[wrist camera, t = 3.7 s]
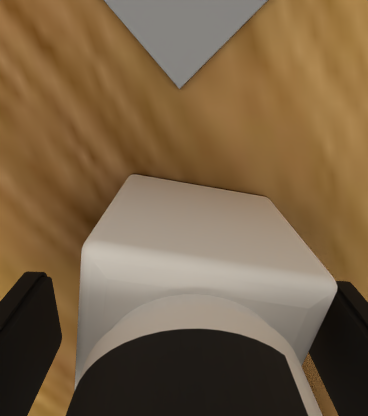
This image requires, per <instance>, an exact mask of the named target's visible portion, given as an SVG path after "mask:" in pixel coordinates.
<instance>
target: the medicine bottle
mask: <svg viewBox="0 0 368 416" xmlns="http://www.w3.org/2000/svg"><path fill="white" fill-rule="evenodd" d="M336 292H337V284H336V281H335V280H334V278H333V276H332V275H331V274H330V273H329V272H328V270H327V269H326V268H325V267H324V265H323V264H322V263H321V262H320V261H319V259H318V258H317V257H316V256H315V254H314V253H313V252H312V251H311V249H310V248H309V247H308V246H307V245H306V243H305V242H304V241H303V240H302V238H301V237H300V236H299V235H298V234H297V232H296V231H295V230H294V229H293V227H292V226H291V225H290V224H289V222H288V221H287V220H286V219H285V218H284V216H283V215H282V214H281V213H280V211H279V210H278V209H277V208H276V207H275V205H274V204H273V203H272V202H271V200H270V199H269V198H267V197H264V196H258V195H252V194H247V193H241V192H235V191H229V190H223V189H218V188H212V187H206V186H200V185H194V184H189V183H183V182H177V181H171V180H166V179H160V178H154V177H148V176H142V175H137V174H135V175H130V176H129V177H128V178H127V180H126V181H125V183H124V184H123V186H122V187H121V189H120V190H119V192H118V193H117V195H116V196H115V198H114V199H113V201H112V202H111V204H110V205H109V207H108V208H107V210H106V211H105V213H104V214H103V216H102V217H101V219H100V220H99V222H98V223H97V225H96V226H95V228H94V229H93V231H92V232H91V234H90V235H89V237H88V238H87V240H86V241H85V243H84V245H83V247H82V252H81V272H80V292H79V312H78V332H77V352H76V372H75V392H74V394H73V397H72V400H71V402H70V405H69V408H68V411H67V413H66V416H323V415H322V413H321V411H320V408H319V406H318V404H317V401H316V399H315V397H314V394H313V392H312V390H311V387H310V385H309V383H308V381H307V378H306V376H305V374H304V371H303V369H302V367H301V366H302V364H303V362H304V360H305V358H306V356H307V354H308V352H309V349H310V347H311V345H312V343H313V341H314V339H315V337H316V335H317V332H318V330H319V328H320V326H321V324H322V322H323V320H324V318H325V315H326V313H327V311H328V309H329V307H330V305H331V303H332V301H333V299H334V296H335V294H336Z"/></svg>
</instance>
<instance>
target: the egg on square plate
mask: <svg viewBox="0 0 368 416" xmlns="http://www.w3.org/2000/svg"><path fill="white" fill-rule="evenodd" d="M104 1H105V2H106V3H107V4H108V6H109V7H110V8H111V9H112V10H113V12H114V13H115V14H116V15H117V16H118V17H119V19H120V20H121V21H122V22H123V23H124V24H125V26H126V27H127V28H128V29H129V30H130V31H131V33H132V34H133V35H134V36H135V37H136V38H137V40H138V41H139V42H140V43H141V44H142V45H143V47H144V48H145V49H146V50H147V51H148V52H149V54H150V55H151V56H152V57H153V58H154V60H155V61H156V62H157V63H158V64H159V65H160V67H161V68H162V69H163V70H164V71H165V72H166V74H167V75H168V76H169V77H170V78H171V79H172V81H173V82H174V83H175V84H176V85H177V86H178V88H179V89H181V88H182V87H183V86H184V85H185V84H186V83H187V82H188V81H189V80H190V79H191V78H192V77H193V76H194V75H195V74H196V73H197V72H198V71H199V70H200V69H201V68H202V67H203V66H204V65H205V64H206V63H207V62H208V61H209V60H210V59H211V58H212V57H213V56H214V55H215V54H216V53H217V51H218V50H219V49H220V48H221V47H222V46H223V45H224V44H225V43H226V42H227V41H228V40H229V39H230V38H231V37H232V36H233V35H234V34H235V33H236V32H237V31H238V30H239V29H240V28H241V27H242V26H243V25H244V24H245V23H246V22H247V21H248V20H249V19H250V18H251V17H252V16H253V15H254V14H255V13H256V12H257V11H258V10H259V9H260V8H261V7H262V6H263V5H264V4H265V3H266V2H267V1H268V0H104Z"/></svg>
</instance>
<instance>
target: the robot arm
mask: <svg viewBox="0 0 368 416" xmlns="http://www.w3.org/2000/svg"><path fill="white" fill-rule="evenodd" d="M336 284H337V292H336V294H335V296H334V299H333V301H332V303H331V305H330V307H329V309H328V311H327V313H326V315H325V318H324V320H323V322H322V324H321V326H320V328H319V330H318V332H317V335H316V337H315V339H314V341H313V343H312V345H311V347H310V349H309V354H310V356H311V358H312V360H313V362H314V364H315V366H316V368H317V371H318V373H319V375H320V377H321V379H322V381H323V383H324V385H325V387H326V390H327V392H328V394H329V396H330V398H331V400H332V402H333V404H334V407H335V409H336V411H337V413H338V415H339V416H368V302H367V301H366V300H365V299H364V297H363V296H362V295H361V294H360V293H359V292H358V290H357V289H356V288H355V287H354V286H353V285H352V284H351V283H350V282H348V281H336ZM61 340H62V333H61V328H60V322H59V316H58V311H57V305H56V300H55V294H54V289H53V283H52V279H51V277H47V275H46V273H44V272H25V273H24V274H23V275H22V276H21V278H20V279H19V280H18V281H17V282H16V284H15V285H14V286H13V287H12V288H11V289H10V291H9V292H8V293H7V294H6V295H5V297H4V298H3V299H2V300H1V301H0V416H27V415H28V413H29V411H30V409H31V406H32V404H33V402H34V400H35V398H36V396H37V394H38V392H39V389H40V387H41V385H42V383H43V381H44V379H45V377H46V374H47V372H48V370H49V368H50V366H51V364H52V362H53V360H54V357H55V355H56V353H57V351H58V349H59V347H60V344H61Z"/></svg>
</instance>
